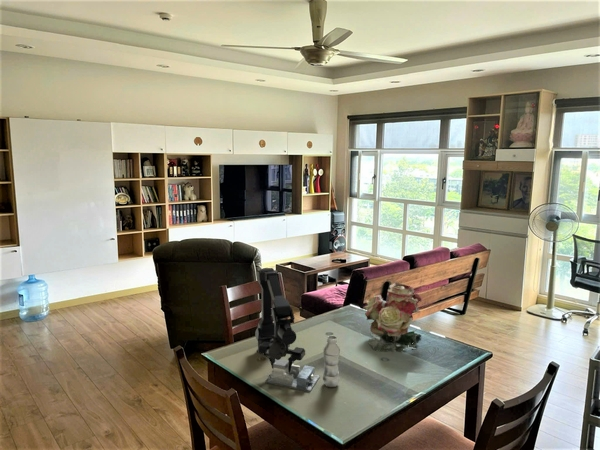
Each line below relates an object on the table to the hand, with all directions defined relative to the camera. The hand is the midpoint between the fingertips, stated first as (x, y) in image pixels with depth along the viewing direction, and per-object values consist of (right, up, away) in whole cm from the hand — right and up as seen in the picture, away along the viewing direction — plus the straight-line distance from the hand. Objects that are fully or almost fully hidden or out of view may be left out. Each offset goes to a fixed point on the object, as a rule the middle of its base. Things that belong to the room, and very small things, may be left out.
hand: (281, 370), depth 179 cm
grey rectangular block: (0, -2, 0) cm, 2 cm away
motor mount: (+4, -4, -1) cm, 6 cm away
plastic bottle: (+20, -5, -5) cm, 21 cm away
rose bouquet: (+52, +2, +34) cm, 63 cm away
